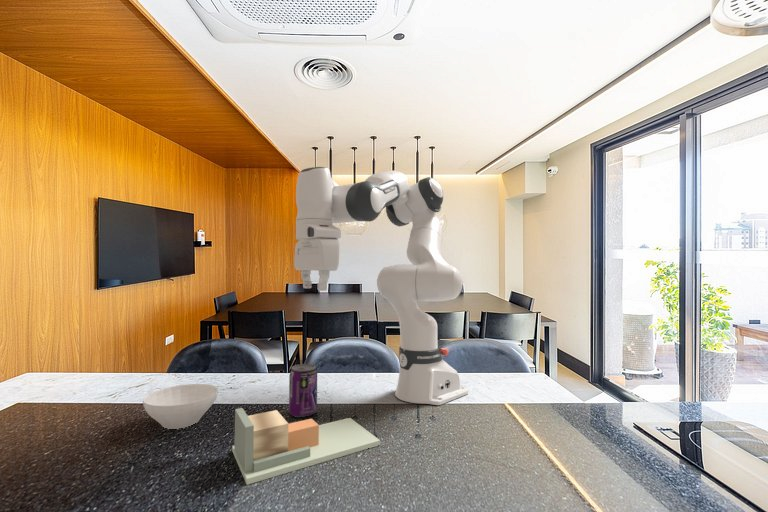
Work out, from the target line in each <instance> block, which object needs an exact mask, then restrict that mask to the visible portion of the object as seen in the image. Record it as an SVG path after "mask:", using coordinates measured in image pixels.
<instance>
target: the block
mask: <svg viewBox="0 0 768 512" xmlns="http://www.w3.org/2000/svg"><path fill="white" fill-rule="evenodd" d="M247 416H248V417H249V419H250V420H251V422H252V424H253V425H254V440H253V461H254V460H258V459H262V458H265V457H269V456H273V455H277V454H280V453H284V452H288V424H289V422H288V421H287V420H286V419H285V418H284V416H282V414H281V413H280V412H279V411H278V410H277V409H275V410H270V411H266V412H265V411H264V412H259V413H255V414H251V415H247Z"/></svg>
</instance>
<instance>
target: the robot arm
mask: <svg viewBox="0 0 768 512" xmlns="http://www.w3.org/2000/svg"><path fill="white" fill-rule="evenodd" d="M444 196H445V195H444V190H443V188H442V186H441V184H440V183H439V182H438V181H437V179H435V178H433V177H428V176H427V177H424V178H422V179H420V180H418V182H416V183H414V184H412V185H410V182H409V179H408V177H407V175H406V174H404V173H403V172H401V171H399V170H383V171H378V172H376V173H373V174H371V175H370V176H368V177H367V178H366V179H365V180H364V181H359V182H356V183H350V184H343V185H339V184H338V183H336V182H335V180H334V179H333V178H332V175H331V170H330V169H329V168H327V167H324V166H312V167H307V168H304V169H301V170H300V171H299V173H298V175H297V180H296V189H295V204H296V207H297V208H296V209H297V215H296V218H295V240H296V241H297V240H298V241H297V242H296V243H295V247H294V248H295V249H294V258H293V259H294V263H293V265H294V269H295V271H301V272H300V275H301V280H302V287H303V289H312V288H313V287H312V286H313V285H312V284H313V281H312V280H311V275H312V273H311V271H318V276H319V278H318V282H317V283H316V284H317V290H318V291H321V292H322V291H323V292H325V291H327V289H328V282H329V278H330V272H331V271H333V272H334V271H335V272H336V271H337V270H338V268H339V265H340V253H341V252H340V250H341V248H340V240H339V239H341V237H342V230H341V229H340V228H338V227H337V226H336V225H334V224H339V223H340V224H341V223H342V224H343V223H353V222H354V223H356V222H373V221H375V220H377V218H378V217H379V216H380V214H381V213H382V211H383V209H385V212H386V216H387V219H388V220H389V221H390V222H391V224H393V225H395V226H396V227H399V228H400V227H404V226H407V225H409V224H410V223H412V228H411V230H410V233H409V236H408V237H409V238H408V243H407V248H406V256H407V257H406V258H407V259H408V260H409V262H410V263H411V264H394V265H390V266H389V265H388V266H386V267H383V268H382V269H381V270H380V272H379V273H378V275H377V279H376V287H377V290H378V292H379V294H380V295H381V297H382V298H384V299H385V300H386V301H387V302H388V303H389V305H391V306H392V308H393V309H394V312H395V313H396V315H397V319H398V324H399V332H400V335H399V336H400V346H399V348H398V349H399V350H398V362H399V371H398V372H399V373H398V379H397V385H396V390H395V392H394V396H395V397H396V398H397V399H398V400H400V401H404V402H406V403H413V404H423V405H425V404H426V405H427V404H428V405H435V406H441V405H444V404H446V403H449V402H450V401H451V402H452V401H453V400H456V399H459V398H462V397H463V396H465V395H468V394H469V390H468V389H467V387H465V386H463V385H461V381H460V375H459V373H458V371H457V370H456V369H454V368H453V367H452V366H451V365H450V364H448V362H446V361H445V360H444V359H443V355H444V356H445V357H447V356H448V355H449V353H450V352H449V349H447V348H444V347H442V348H440V347H438V344H439V343H438V323H437V320H436V319H435V318H434V317H433V316H432V315H430V314H428V313H427V312H424V310H421V309H420V307H419V305H418V302H445V301H451V300H455V299H457V298H458V296H459V295H460V294H461V292H462V289H463V284H464V283H463V282H464V281H463V275H462V274H461V272H460V271H459V269H458V268H457V267H456V266H454V265H451V263H450V264H449V263H448V262H447V261H446V260H445V259H444V258H443V256H442V245H443V244H442V241H443V229H442V223H441V220H440V219H439V218H438V217H437V215H436V213H440V211H441V209H442V205H443V201H444Z"/></svg>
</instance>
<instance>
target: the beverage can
mask: <svg viewBox="0 0 768 512" xmlns="http://www.w3.org/2000/svg"><path fill="white" fill-rule="evenodd" d="M288 379H289V382H288V383H289V385H288V388H289V390H288V395H289V396H288V413H289V414H290V415H291V416H294V417H295V416H296V417H295V418H300V417H302V418H306V417H305V416H308V417H310V416H312V415H314V414H315V413H317V411H318V371H317V369H316V365H314V364H311V363H310V364H309V363H301V364H295V365H292V366H291V371H290V372H289V378H288ZM309 415H310V416H309Z"/></svg>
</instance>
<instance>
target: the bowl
mask: <svg viewBox="0 0 768 512" xmlns="http://www.w3.org/2000/svg"><path fill="white" fill-rule="evenodd" d="M218 395H219V388H218V387H217V386H215V385H212V384H207V383H190V384H189V383H188V384H180V385H174V386H169V387H166V388H162V389H159V390H155V391H153V392H151V393H148V394H147V395H146V396H144V398H143V399H142V404H143V407H144V410H145V412H146V414H147V415H148V416H150V417H151V418H152V419H153V420H155V421H156V422H158V423H159V424H160V426H161V427H162V428H163V427H164V429H165V428H168V429H167V430H169V429H177V430H180V429H179V428H183V429H186V428H185V427H187V428H189V427H188V426H190V427H192V426H191V425H193V424H195V423H196V424H198V422H200V420H201V419H202V417H203V416H204V415H205V414H206V412H207V411H208V410H210V408H211V407H212V405H213V404H214V403H215V401H216V399H217V397H218ZM196 424H195V425H196ZM193 426H194V425H193Z"/></svg>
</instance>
